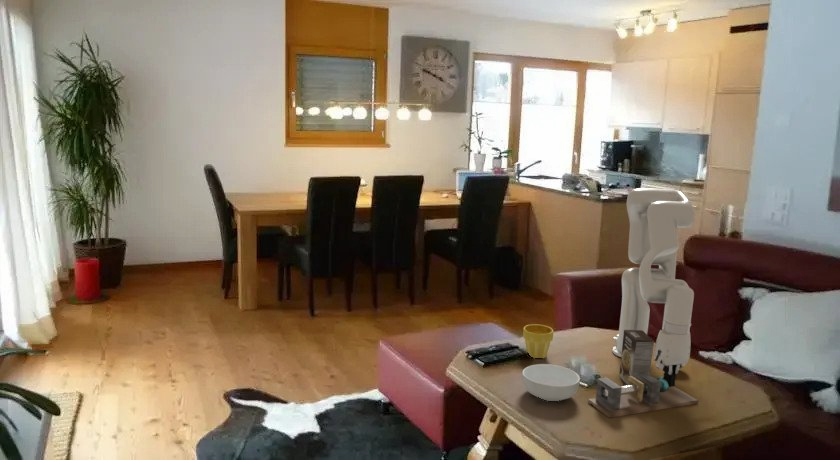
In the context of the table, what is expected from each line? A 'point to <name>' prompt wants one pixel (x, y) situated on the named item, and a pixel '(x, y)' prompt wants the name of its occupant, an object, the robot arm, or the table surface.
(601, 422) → the table surface
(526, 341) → the plant pot
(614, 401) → the shaft frame
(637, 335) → the coffee box
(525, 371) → the cereal bowl
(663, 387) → the shaft
